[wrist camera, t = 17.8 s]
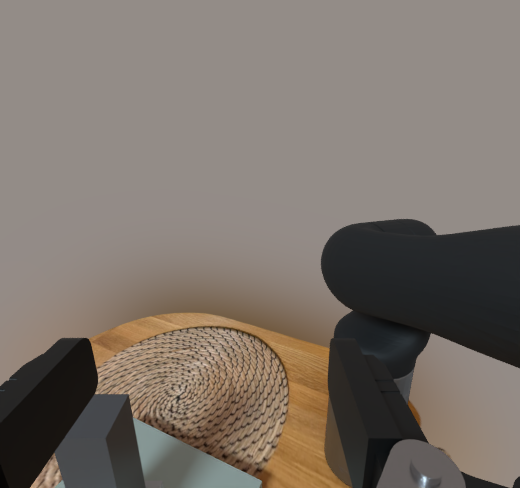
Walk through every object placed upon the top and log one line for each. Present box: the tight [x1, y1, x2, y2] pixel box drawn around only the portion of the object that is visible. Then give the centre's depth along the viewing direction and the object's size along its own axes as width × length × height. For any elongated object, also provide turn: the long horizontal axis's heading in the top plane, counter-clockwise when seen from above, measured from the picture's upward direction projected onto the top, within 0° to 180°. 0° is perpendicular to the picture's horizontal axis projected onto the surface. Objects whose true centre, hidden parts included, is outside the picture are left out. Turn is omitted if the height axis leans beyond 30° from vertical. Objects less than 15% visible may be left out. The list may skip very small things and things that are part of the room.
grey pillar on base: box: [54, 394, 164, 488], centre depth 29 cm, size 9×6×16 cm, turn 0°
